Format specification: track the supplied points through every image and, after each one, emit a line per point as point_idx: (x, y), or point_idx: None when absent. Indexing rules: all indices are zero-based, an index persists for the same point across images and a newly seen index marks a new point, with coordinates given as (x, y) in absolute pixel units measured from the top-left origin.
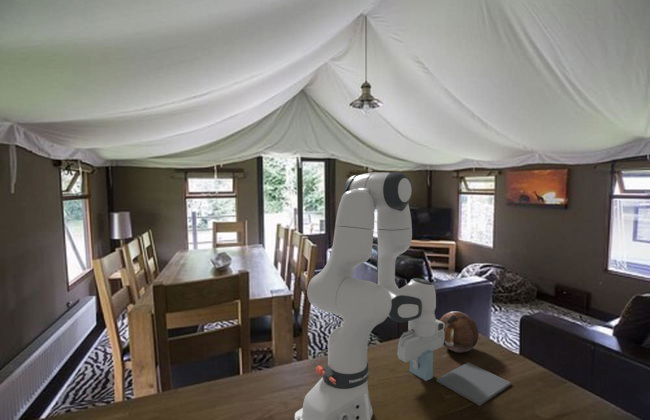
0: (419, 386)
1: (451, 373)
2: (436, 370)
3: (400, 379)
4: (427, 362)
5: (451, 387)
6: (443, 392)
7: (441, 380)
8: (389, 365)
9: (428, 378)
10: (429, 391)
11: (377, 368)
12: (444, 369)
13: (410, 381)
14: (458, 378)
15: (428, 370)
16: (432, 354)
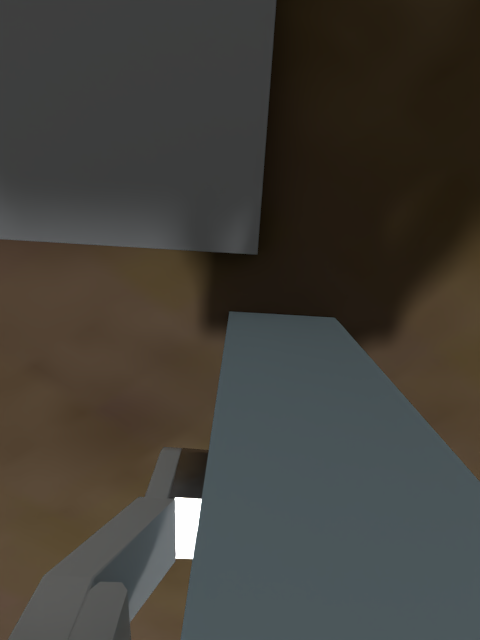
0: (460, 305)
1: (13, 205)
2: (92, 359)
3: (470, 462)
4: (408, 448)
5: (275, 7)
6: (389, 65)
7: (240, 196)
8: None
9: (301, 319)
10: (477, 189)
11: None
12: (6, 322)
13: (440, 399)
14: (19, 73)
15: (323, 358)
16: (237, 593)
